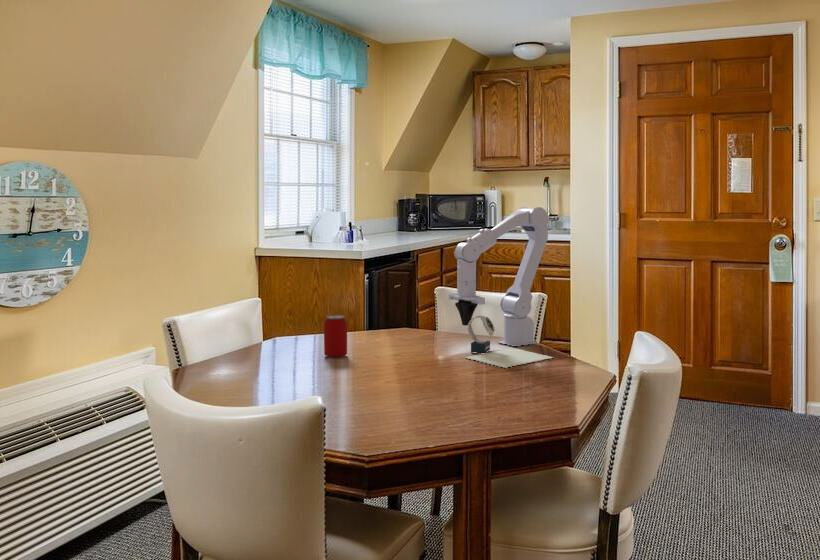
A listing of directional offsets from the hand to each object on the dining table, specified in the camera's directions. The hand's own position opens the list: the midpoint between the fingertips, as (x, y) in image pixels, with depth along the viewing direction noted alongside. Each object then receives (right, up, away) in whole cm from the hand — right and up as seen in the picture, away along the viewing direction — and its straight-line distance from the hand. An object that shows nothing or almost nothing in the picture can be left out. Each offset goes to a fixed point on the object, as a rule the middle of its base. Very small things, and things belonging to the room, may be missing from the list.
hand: (466, 325), depth 228 cm
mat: (+12, -9, -14) cm, 20 cm away
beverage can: (-39, -9, -11) cm, 42 cm away
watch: (+4, -8, -4) cm, 10 cm away
